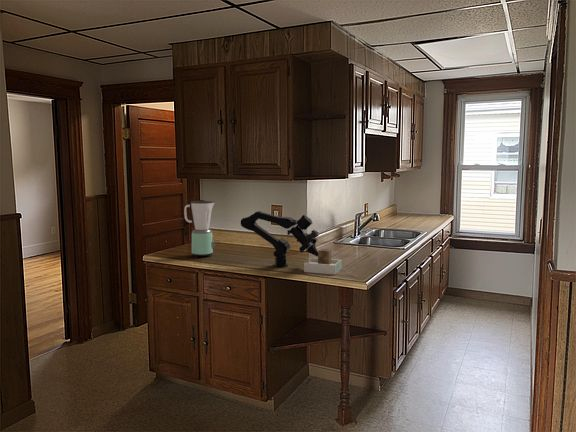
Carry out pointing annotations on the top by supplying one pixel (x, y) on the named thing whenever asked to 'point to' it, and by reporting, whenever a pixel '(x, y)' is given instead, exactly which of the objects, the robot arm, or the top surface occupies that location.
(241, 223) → the robot arm
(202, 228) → the mint green blender
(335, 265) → the box
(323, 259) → the walnut block
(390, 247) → the top surface
